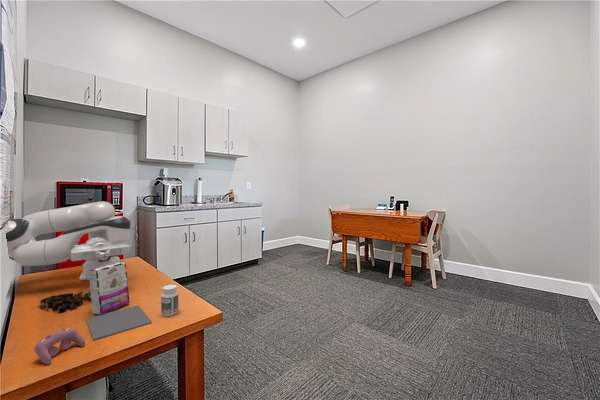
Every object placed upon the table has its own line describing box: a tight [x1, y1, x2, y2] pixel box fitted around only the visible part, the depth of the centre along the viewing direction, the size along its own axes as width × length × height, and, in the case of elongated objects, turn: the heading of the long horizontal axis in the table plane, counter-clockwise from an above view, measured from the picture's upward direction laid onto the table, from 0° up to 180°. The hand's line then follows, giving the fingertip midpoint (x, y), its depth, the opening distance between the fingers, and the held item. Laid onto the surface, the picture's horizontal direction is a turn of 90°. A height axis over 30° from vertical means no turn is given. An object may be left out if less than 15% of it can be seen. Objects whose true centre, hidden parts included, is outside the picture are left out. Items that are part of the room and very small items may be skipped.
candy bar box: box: [88, 261, 131, 316], centre depth 100 cm, size 11×5×16 cm, turn 160°
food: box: [39, 287, 91, 314], centre depth 108 cm, size 22×19×4 cm
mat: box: [85, 304, 153, 341], centre depth 91 cm, size 18×16×1 cm
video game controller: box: [33, 327, 86, 365], centre depth 73 cm, size 10×5×7 cm, turn 164°
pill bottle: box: [160, 284, 179, 317], centre depth 98 cm, size 6×6×10 cm
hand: (104, 255), depth 107 cm, fingers closed
